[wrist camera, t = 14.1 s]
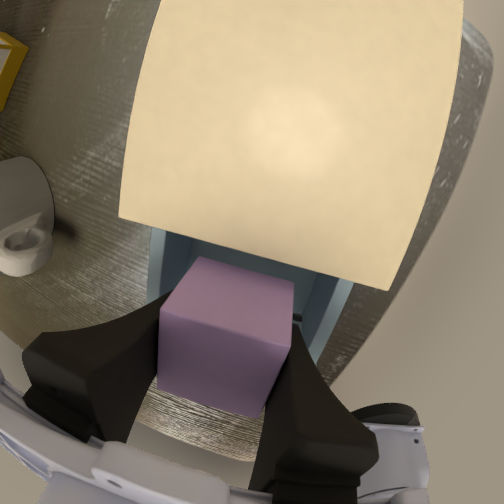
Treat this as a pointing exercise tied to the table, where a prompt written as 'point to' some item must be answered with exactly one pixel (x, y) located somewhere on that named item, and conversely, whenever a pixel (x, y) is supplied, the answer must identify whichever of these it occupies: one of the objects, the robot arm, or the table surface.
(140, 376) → the robot arm
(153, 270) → the drawer
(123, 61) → the table surface
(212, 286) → the block
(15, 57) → the soap bottle
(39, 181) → the coffee mug
